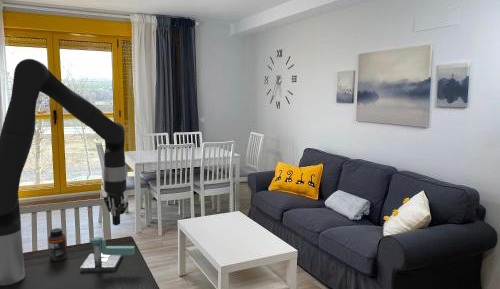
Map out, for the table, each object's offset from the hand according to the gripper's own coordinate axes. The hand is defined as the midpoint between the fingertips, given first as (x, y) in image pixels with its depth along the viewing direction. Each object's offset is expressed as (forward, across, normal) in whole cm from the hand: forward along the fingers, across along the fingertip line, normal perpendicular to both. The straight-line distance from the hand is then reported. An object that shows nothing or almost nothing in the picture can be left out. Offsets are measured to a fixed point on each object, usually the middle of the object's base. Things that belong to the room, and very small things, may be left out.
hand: (116, 224), depth 145 cm
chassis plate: (+16, -5, -3) cm, 17 cm away
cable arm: (+10, +2, -3) cm, 10 cm away
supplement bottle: (+16, -22, -12) cm, 30 cm away
